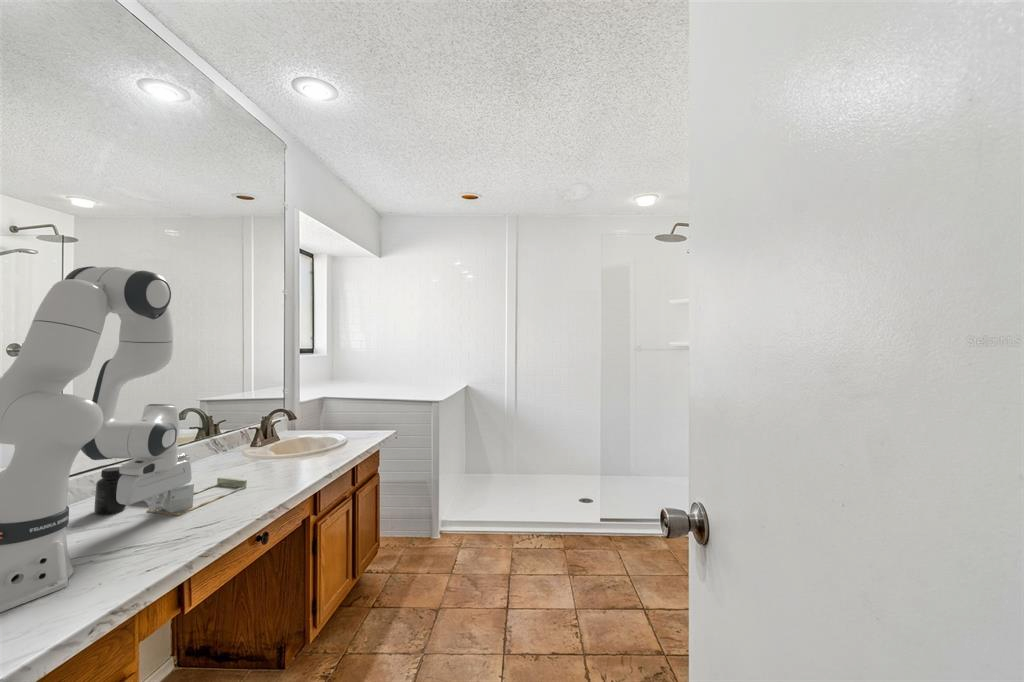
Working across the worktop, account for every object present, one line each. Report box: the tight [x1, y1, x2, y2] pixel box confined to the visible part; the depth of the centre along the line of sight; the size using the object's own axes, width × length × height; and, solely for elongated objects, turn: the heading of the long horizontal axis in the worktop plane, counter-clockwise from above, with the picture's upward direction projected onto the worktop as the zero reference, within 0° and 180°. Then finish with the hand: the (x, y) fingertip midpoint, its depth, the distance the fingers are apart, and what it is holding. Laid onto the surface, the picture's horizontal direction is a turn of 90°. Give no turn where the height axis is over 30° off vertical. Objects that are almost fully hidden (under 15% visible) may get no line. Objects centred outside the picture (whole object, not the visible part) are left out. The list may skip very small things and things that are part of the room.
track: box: [146, 476, 248, 517], centre depth 145 cm, size 27×10×2 cm, turn 172°
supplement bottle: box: [93, 466, 127, 515], centre depth 132 cm, size 7×7×12 cm
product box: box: [162, 481, 195, 513], centre depth 136 cm, size 6×6×7 cm
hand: (155, 509), depth 129 cm, fingers closed
